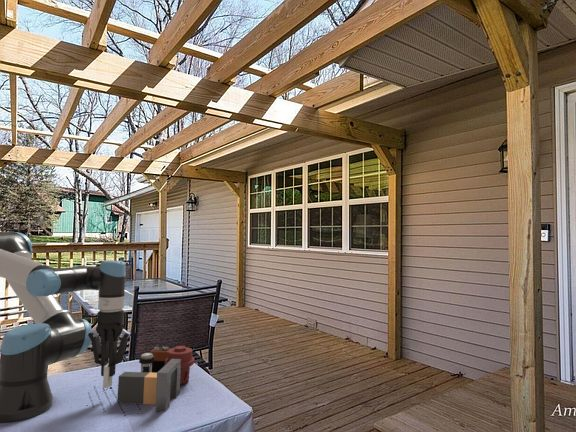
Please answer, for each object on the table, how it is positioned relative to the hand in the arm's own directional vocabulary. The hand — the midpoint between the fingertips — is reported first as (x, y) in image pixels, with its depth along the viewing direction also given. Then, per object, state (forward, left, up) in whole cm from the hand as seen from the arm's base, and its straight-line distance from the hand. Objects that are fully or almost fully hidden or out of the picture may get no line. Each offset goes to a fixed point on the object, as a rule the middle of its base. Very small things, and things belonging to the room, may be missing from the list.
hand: (107, 386), depth 115 cm
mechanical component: (+18, +15, -4) cm, 24 cm away
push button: (+7, +14, -4) cm, 16 cm away
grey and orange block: (+10, 0, -4) cm, 11 cm away
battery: (+8, +23, -4) cm, 24 cm away
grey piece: (+19, 0, -4) cm, 20 cm away
